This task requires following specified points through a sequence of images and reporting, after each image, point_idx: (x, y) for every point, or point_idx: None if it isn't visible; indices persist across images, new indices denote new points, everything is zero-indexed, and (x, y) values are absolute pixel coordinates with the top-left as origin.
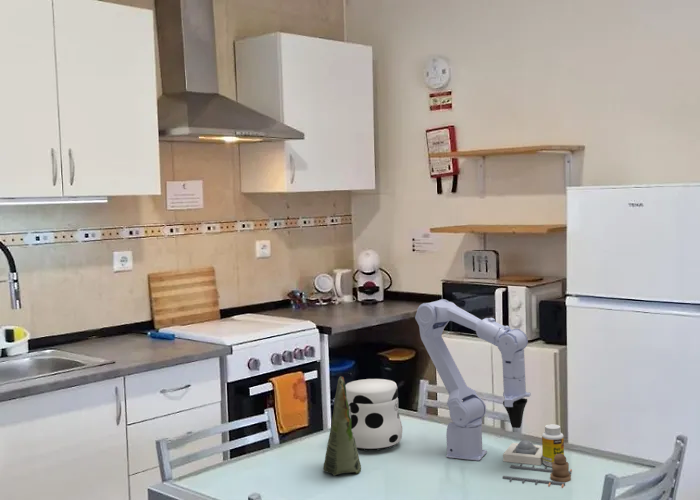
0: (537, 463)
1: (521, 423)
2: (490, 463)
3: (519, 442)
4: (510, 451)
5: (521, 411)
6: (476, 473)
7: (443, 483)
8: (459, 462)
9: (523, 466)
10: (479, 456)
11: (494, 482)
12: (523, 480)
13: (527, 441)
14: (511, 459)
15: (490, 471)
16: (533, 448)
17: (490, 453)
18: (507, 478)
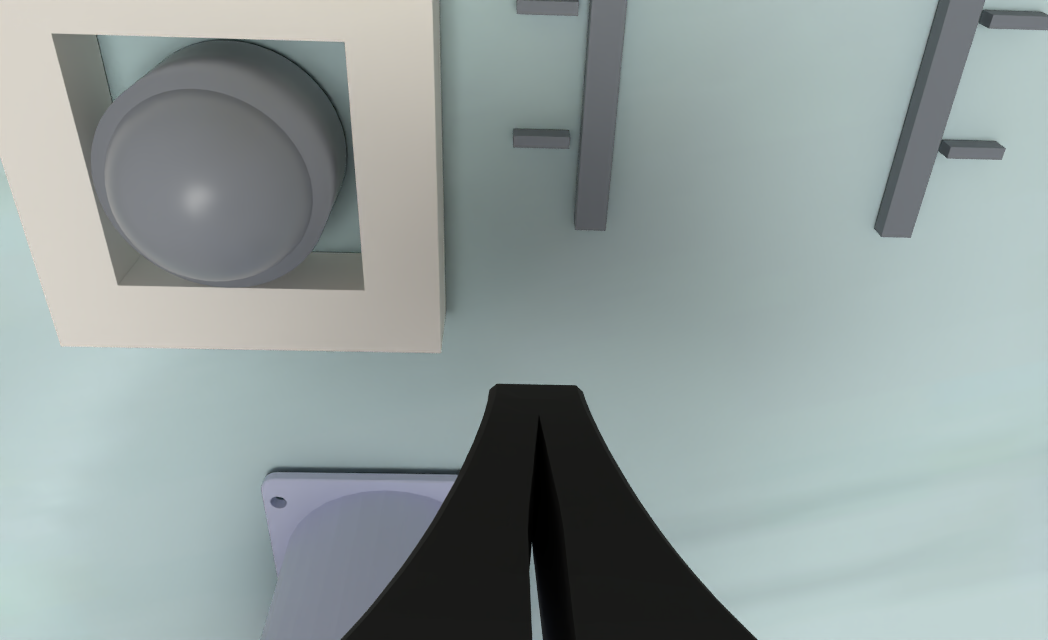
0: None
1: (494, 408)
2: None
3: (215, 278)
4: (334, 308)
5: (724, 613)
6: (789, 432)
7: (1014, 560)
8: None
9: (589, 107)
10: (440, 496)
11: (999, 270)
12: (1021, 22)
13: (200, 196)
14: (441, 257)
15: (726, 353)
16: (215, 92)
17: (279, 442)
18: (918, 187)
